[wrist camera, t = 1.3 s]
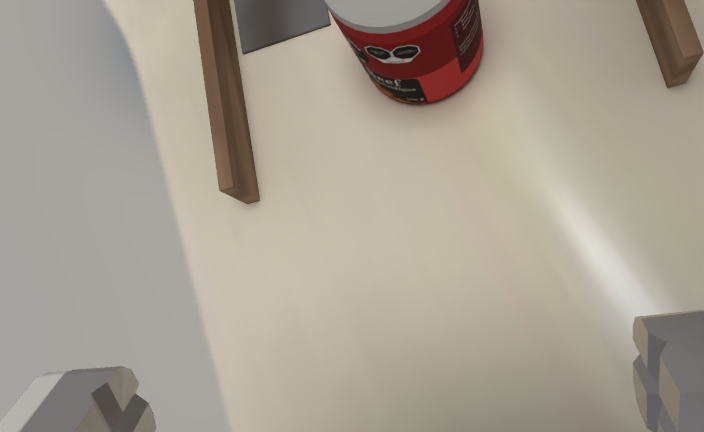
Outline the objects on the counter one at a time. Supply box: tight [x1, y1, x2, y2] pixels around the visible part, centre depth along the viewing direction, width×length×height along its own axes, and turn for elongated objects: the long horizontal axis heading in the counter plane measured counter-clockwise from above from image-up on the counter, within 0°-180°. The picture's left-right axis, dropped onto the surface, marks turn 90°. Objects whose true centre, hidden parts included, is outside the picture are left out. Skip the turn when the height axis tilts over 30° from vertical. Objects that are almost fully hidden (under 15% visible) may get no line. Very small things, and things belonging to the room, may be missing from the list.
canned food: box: [324, 0, 483, 104], centre depth 36 cm, size 8×8×11 cm
